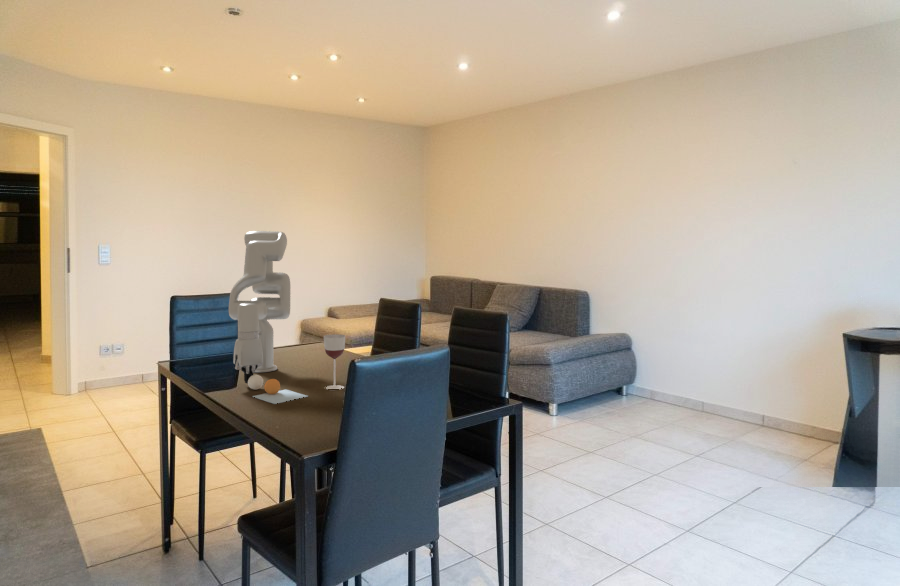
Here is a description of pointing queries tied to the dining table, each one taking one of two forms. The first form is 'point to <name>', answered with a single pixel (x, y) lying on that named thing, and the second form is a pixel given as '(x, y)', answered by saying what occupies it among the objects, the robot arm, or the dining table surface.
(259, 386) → the cue ball
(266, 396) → the blue mark
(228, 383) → the dining table surface
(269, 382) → the orange ball
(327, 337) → the wineglass
